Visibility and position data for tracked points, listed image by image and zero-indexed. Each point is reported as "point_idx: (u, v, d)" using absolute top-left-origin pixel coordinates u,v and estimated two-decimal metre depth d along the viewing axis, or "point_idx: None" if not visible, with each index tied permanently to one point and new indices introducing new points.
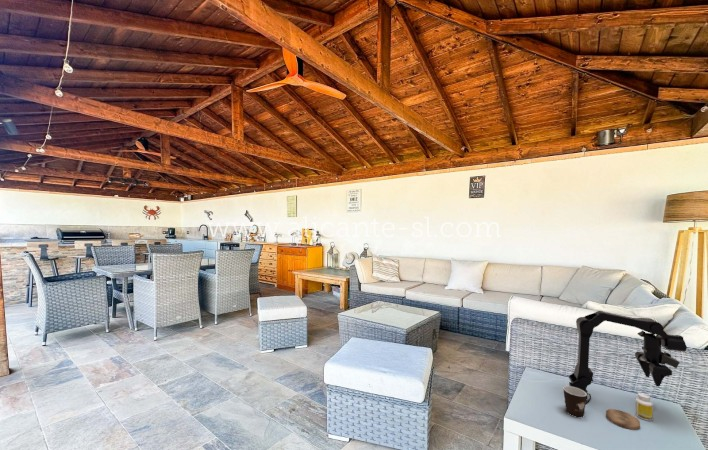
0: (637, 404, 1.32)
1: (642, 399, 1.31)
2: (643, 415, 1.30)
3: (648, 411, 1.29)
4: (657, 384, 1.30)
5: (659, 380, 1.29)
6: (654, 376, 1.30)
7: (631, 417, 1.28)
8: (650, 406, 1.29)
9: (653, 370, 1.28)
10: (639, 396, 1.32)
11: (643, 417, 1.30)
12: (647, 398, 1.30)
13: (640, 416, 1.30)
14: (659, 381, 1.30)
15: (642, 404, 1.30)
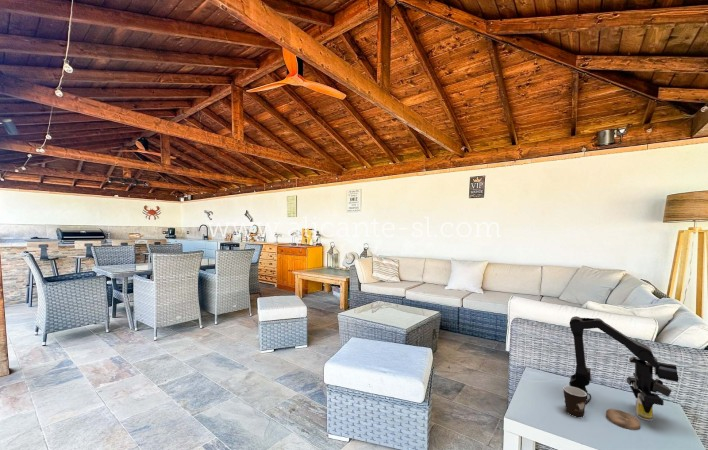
0: (637, 404, 1.32)
1: None
2: (642, 415, 1.30)
3: None
4: (646, 411, 1.29)
5: (648, 406, 1.28)
6: (643, 403, 1.28)
7: (631, 417, 1.28)
8: None
9: (644, 399, 1.25)
10: None
11: (643, 417, 1.30)
12: None
13: (640, 416, 1.30)
14: (648, 408, 1.28)
15: None
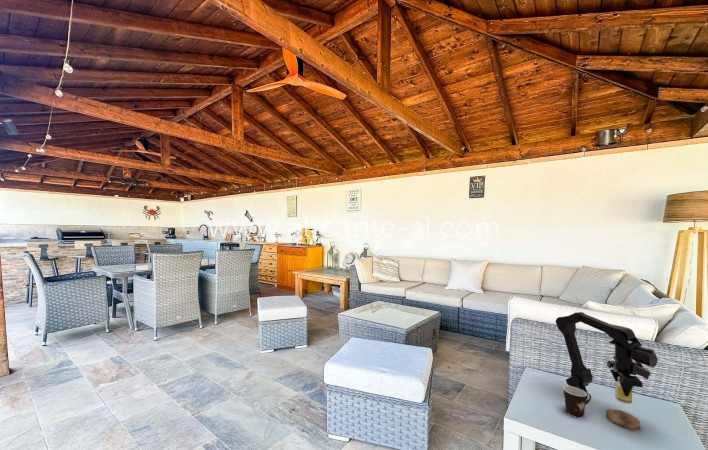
0: (617, 387, 1.29)
1: None
2: (622, 398, 1.27)
3: None
4: (626, 394, 1.26)
5: (628, 389, 1.25)
6: (623, 386, 1.25)
7: (631, 417, 1.28)
8: None
9: (623, 382, 1.22)
10: None
11: (623, 400, 1.27)
12: None
13: (620, 399, 1.28)
14: (628, 391, 1.25)
15: None
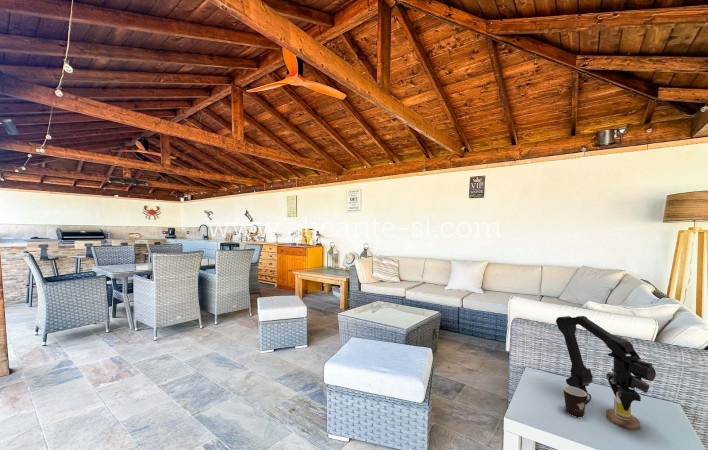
0: (615, 403, 1.29)
1: None
2: (620, 414, 1.27)
3: None
4: (625, 408, 1.25)
5: (627, 404, 1.24)
6: (622, 400, 1.24)
7: (631, 417, 1.28)
8: None
9: (621, 395, 1.22)
10: (617, 395, 1.29)
11: (621, 416, 1.27)
12: None
13: (618, 415, 1.27)
14: (627, 405, 1.24)
15: (620, 403, 1.27)
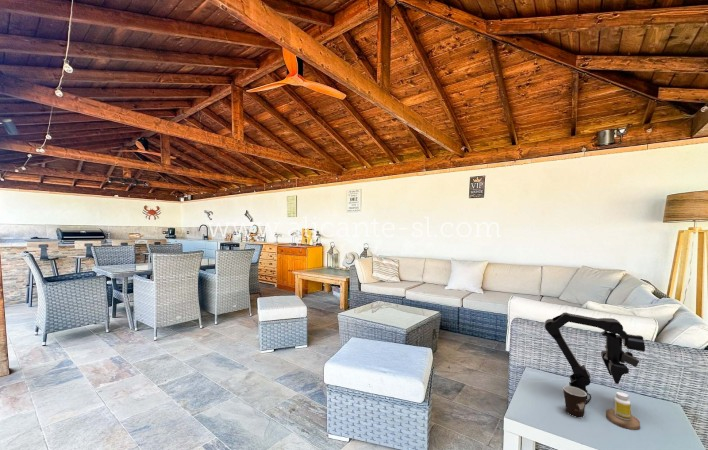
0: (615, 403, 1.29)
1: (620, 398, 1.28)
2: (620, 414, 1.27)
3: (626, 410, 1.26)
4: (616, 382, 1.35)
5: (618, 377, 1.34)
6: (613, 374, 1.35)
7: (631, 417, 1.28)
8: (628, 405, 1.26)
9: (611, 368, 1.33)
10: (617, 395, 1.29)
11: (621, 416, 1.27)
12: (625, 397, 1.27)
13: (618, 415, 1.27)
14: (618, 379, 1.34)
15: (620, 403, 1.27)
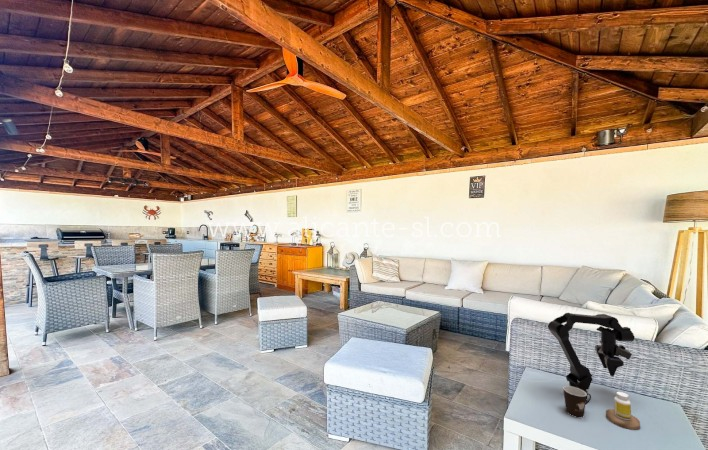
0: (615, 403, 1.29)
1: (620, 398, 1.28)
2: (620, 414, 1.27)
3: (626, 410, 1.26)
4: (611, 374, 1.42)
5: (613, 370, 1.41)
6: (608, 367, 1.41)
7: (631, 417, 1.28)
8: (628, 405, 1.26)
9: (607, 361, 1.40)
10: (617, 395, 1.29)
11: (621, 416, 1.27)
12: (625, 397, 1.27)
13: (618, 415, 1.27)
14: (613, 371, 1.41)
15: (620, 403, 1.27)
